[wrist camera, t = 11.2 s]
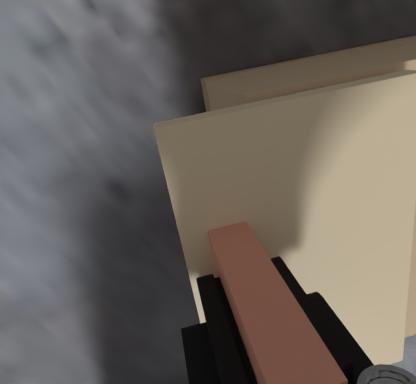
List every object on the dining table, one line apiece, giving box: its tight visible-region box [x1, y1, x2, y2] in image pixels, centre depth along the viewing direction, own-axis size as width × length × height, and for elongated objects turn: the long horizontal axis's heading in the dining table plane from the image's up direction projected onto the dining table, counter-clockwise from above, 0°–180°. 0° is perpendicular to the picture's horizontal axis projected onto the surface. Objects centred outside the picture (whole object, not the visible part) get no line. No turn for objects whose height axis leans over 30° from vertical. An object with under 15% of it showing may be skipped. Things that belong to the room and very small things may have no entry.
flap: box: [153, 70, 416, 384], centre depth 9 cm, size 8×12×6 cm
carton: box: [200, 35, 416, 338], centre depth 17 cm, size 16×12×8 cm
